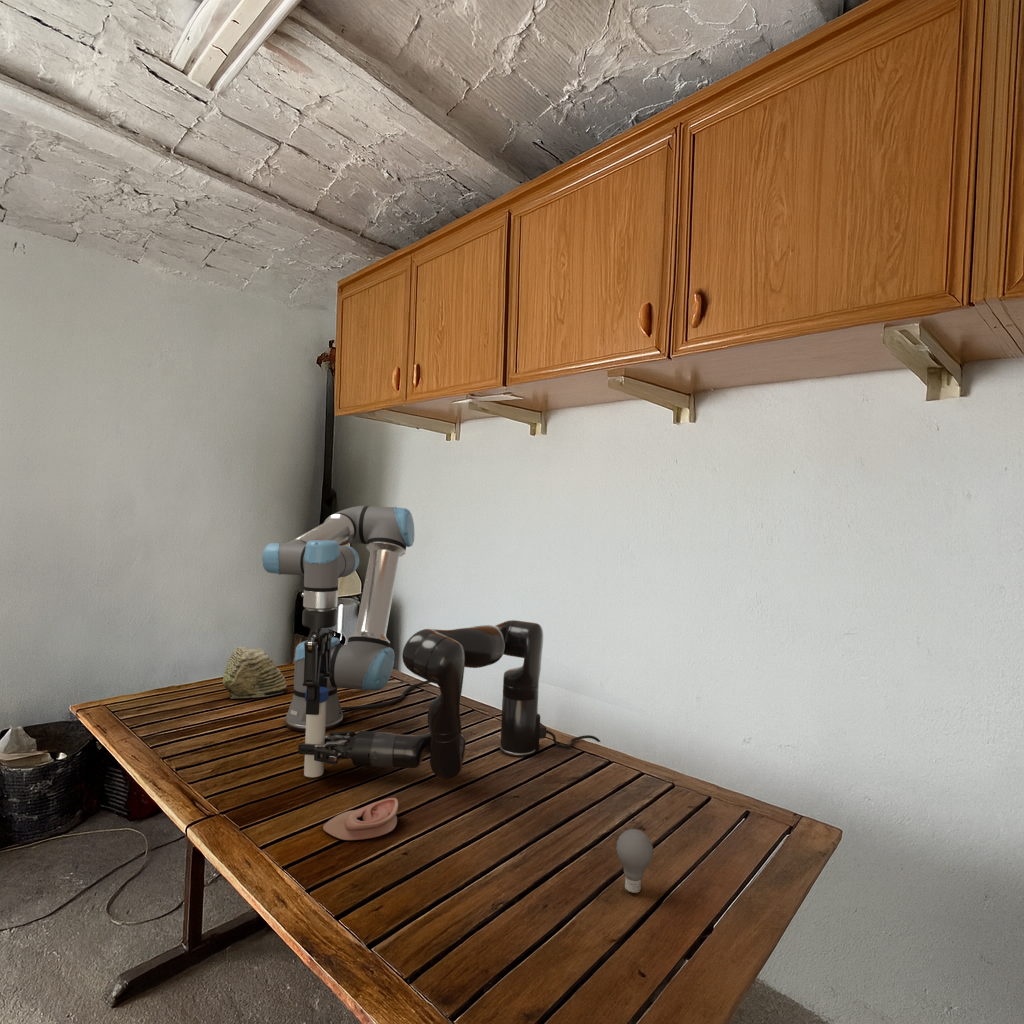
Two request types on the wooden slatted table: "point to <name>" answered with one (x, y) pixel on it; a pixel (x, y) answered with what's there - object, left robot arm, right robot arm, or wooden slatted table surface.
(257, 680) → the fossil
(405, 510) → the left robot arm
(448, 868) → the wooden slatted table surface
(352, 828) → the anatomical model
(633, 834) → the light bulb
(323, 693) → the lid
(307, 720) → the white bottle
